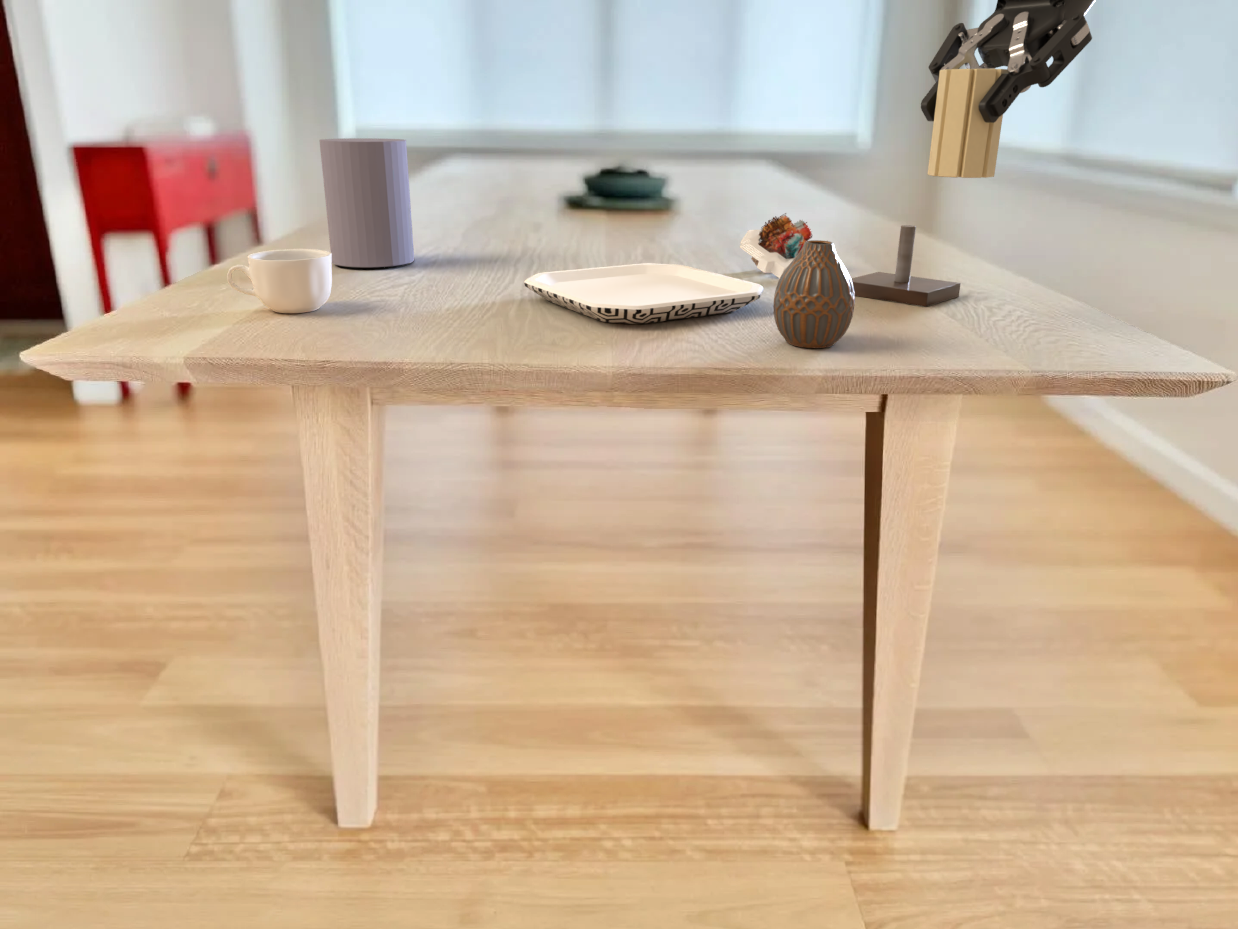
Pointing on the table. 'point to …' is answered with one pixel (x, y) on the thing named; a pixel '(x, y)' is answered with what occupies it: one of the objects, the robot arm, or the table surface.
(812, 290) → the vase
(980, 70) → the fluted hollow cylinder
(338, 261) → the container
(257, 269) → the teacup
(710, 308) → the plate
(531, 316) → the table surface
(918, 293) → the peg stand
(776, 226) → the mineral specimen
